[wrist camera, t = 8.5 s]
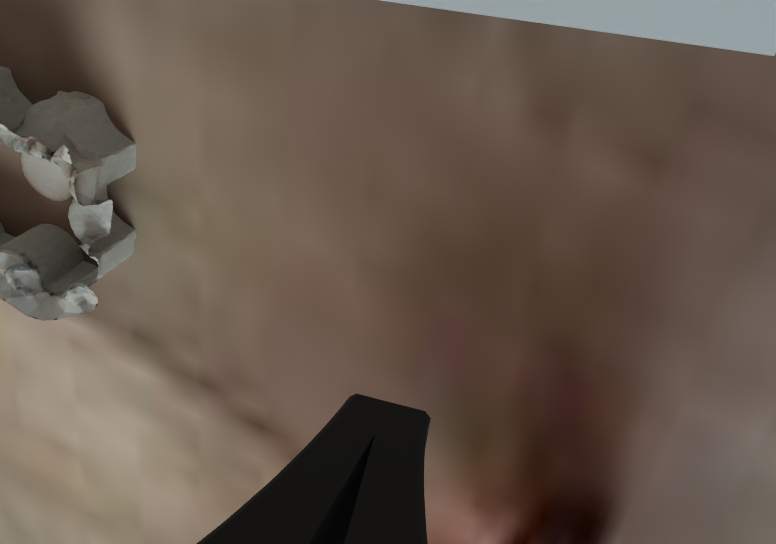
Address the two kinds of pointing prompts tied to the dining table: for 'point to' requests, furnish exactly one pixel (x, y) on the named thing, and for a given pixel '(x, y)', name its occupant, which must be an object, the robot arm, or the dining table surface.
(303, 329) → the dining table surface
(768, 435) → the dining table surface
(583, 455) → the dining table surface
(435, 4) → the gauge bed
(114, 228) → the egg carton
